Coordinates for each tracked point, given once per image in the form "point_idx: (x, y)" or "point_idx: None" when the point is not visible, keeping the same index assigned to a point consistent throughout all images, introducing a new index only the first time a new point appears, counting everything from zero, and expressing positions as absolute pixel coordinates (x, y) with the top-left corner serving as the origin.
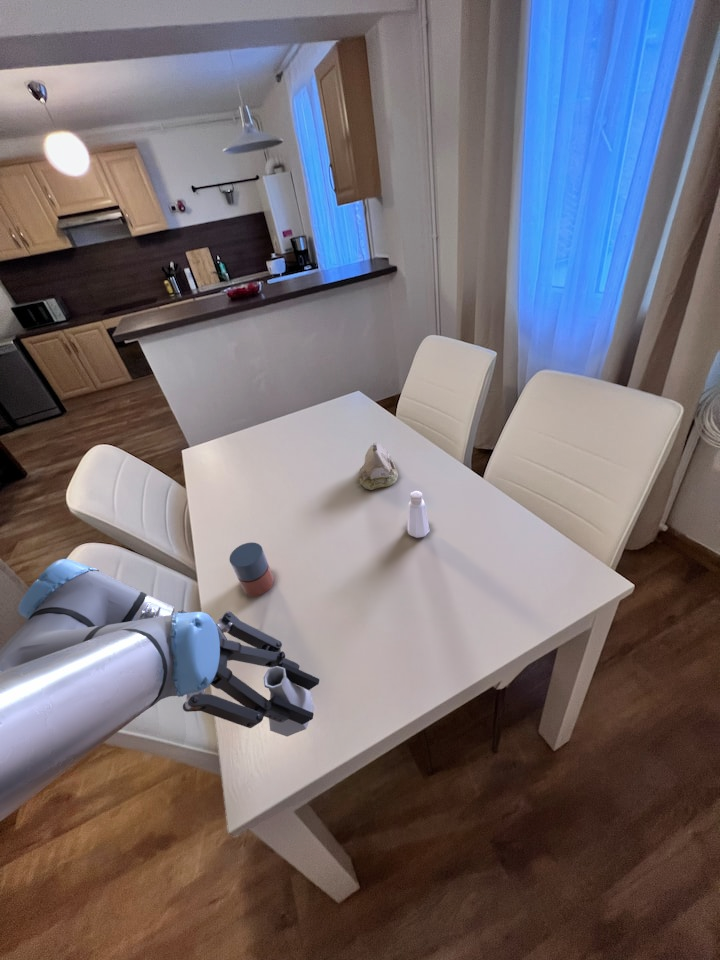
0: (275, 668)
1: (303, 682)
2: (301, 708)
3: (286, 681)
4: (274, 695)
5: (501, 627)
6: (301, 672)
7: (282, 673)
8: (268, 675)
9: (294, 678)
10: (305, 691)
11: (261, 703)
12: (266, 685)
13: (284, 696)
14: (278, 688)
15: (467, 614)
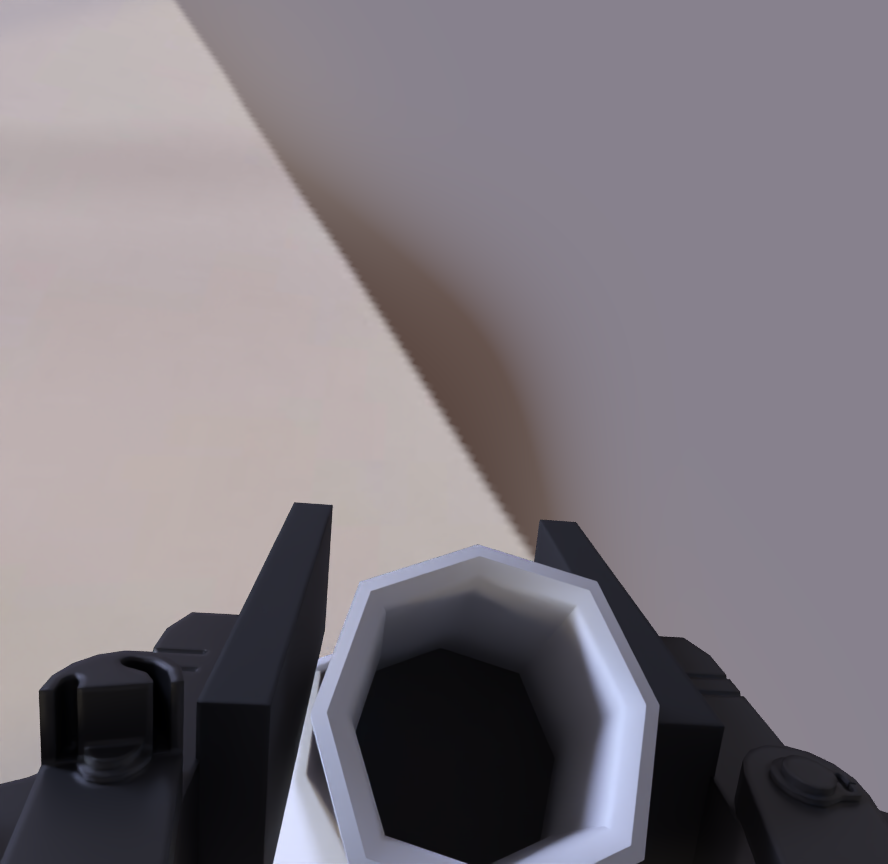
0: (346, 733)
1: (318, 610)
2: (566, 560)
3: (448, 622)
4: (558, 789)
5: (109, 52)
6: (276, 571)
7: (372, 665)
8: (437, 855)
9: (303, 663)
10: (324, 663)
11: (868, 850)
12: (636, 820)
13: (533, 685)
14: (573, 675)
15: (14, 107)
